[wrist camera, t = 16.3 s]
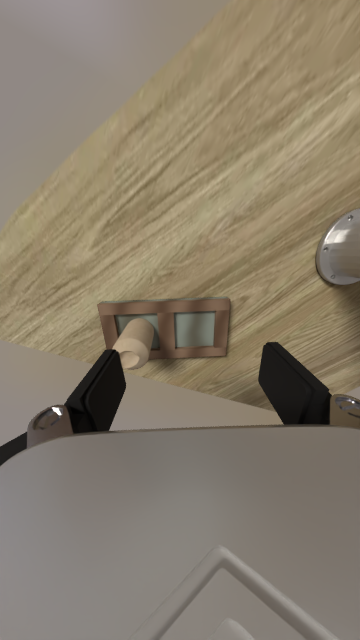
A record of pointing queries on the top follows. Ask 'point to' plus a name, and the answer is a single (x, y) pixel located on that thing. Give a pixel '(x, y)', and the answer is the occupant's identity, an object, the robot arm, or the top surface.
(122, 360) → the candle
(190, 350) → the divided tray
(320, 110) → the top surface
